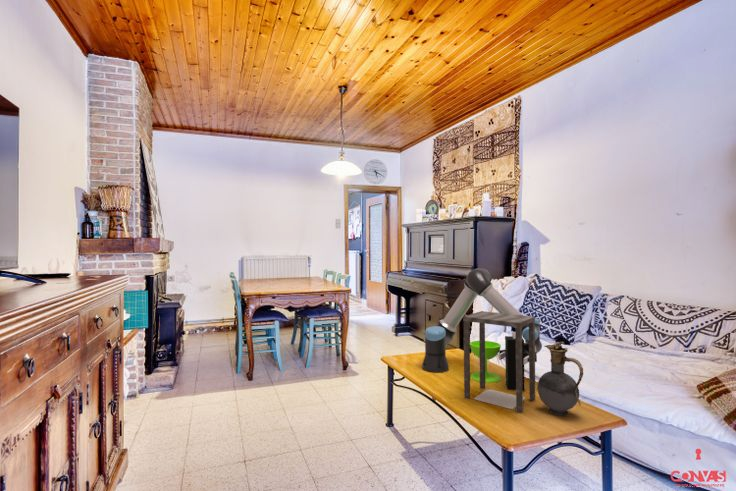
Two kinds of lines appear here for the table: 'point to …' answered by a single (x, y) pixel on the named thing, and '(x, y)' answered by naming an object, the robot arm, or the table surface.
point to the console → (518, 322)
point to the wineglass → (490, 353)
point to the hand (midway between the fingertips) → (511, 359)
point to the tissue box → (512, 361)
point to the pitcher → (559, 383)
